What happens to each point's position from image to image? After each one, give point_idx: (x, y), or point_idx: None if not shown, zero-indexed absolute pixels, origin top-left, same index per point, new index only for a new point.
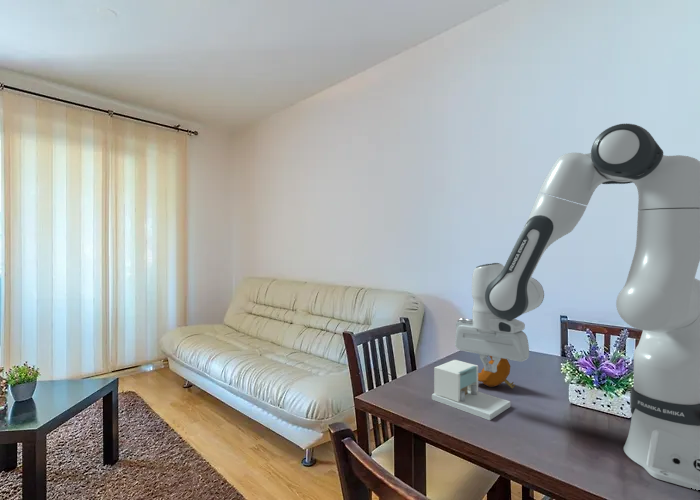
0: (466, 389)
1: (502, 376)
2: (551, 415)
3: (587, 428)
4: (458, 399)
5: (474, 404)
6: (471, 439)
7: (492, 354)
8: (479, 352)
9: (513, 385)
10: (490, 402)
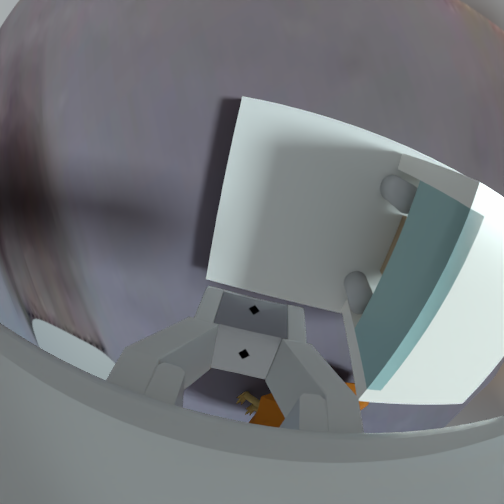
0: None
1: (261, 409)
2: (101, 265)
3: (37, 232)
4: (405, 155)
5: (332, 168)
6: None
7: (128, 415)
8: (372, 449)
9: (242, 401)
10: (272, 228)
